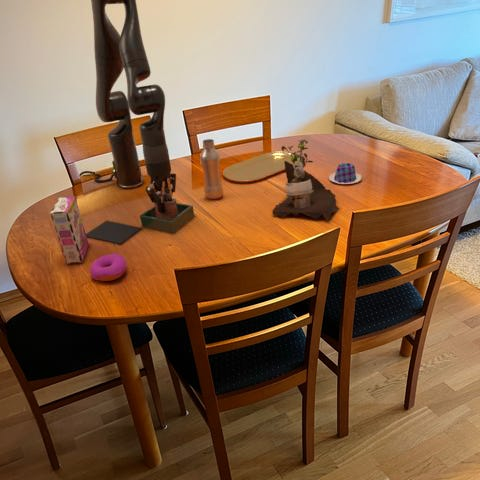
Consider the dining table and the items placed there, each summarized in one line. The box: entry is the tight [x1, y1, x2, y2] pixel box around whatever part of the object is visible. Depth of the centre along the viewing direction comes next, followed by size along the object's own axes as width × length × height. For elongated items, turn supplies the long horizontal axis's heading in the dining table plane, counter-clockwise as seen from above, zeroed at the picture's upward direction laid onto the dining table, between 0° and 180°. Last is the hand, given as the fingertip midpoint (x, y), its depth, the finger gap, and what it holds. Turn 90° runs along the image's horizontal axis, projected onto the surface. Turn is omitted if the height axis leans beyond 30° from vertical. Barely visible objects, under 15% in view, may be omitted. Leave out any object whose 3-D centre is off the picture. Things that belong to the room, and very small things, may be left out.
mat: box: [86, 220, 143, 246], centre depth 150 cm, size 15×11×1 cm
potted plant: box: [272, 138, 339, 221], centre depth 151 cm, size 20×19×25 cm
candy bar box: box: [49, 195, 90, 265], centre depth 135 cm, size 11×5×16 cm, turn 5°
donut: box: [89, 253, 128, 282], centre depth 129 cm, size 10×10×5 cm
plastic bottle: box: [199, 138, 224, 200], centre depth 160 cm, size 6×7×20 cm
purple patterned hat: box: [328, 162, 363, 185], centre depth 169 cm, size 12×12×5 cm
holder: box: [139, 202, 195, 234], centre depth 152 cm, size 13×13×4 cm
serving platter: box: [222, 151, 300, 184], centre depth 184 cm, size 19×35×2 cm, turn 128°
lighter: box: [153, 192, 178, 221], centre depth 150 cm, size 8×3×10 cm, turn 71°
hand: (166, 209), depth 151 cm, fingers closed on lighter, 3 cm apart
